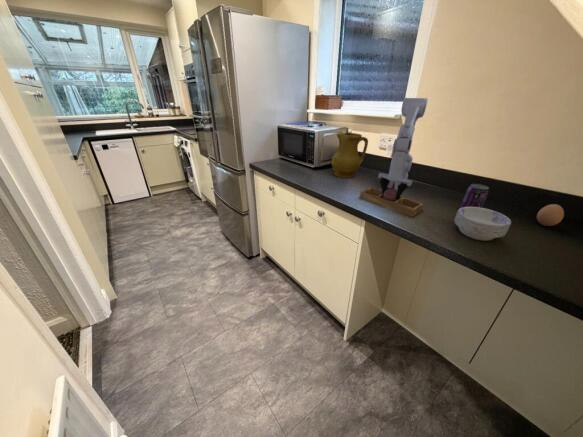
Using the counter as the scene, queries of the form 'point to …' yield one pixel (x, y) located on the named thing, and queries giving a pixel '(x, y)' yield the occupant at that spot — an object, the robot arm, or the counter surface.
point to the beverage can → (475, 196)
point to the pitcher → (348, 154)
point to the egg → (550, 215)
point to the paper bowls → (481, 223)
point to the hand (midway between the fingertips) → (390, 196)
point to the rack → (392, 202)
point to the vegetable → (390, 193)
